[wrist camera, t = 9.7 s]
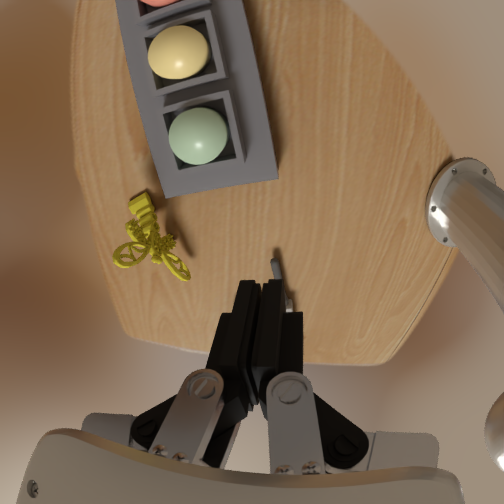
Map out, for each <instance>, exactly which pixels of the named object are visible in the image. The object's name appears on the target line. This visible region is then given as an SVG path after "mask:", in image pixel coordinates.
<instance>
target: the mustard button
mask: <svg viewBox="0 0 504 504" xmlns="http://www.w3.org/2000/svg"><path fill="white" fill-rule="evenodd" d="M211 54H212V49H211V44H210V42H209V40H208V39H207V38H206V37H205V36H204V35H203V34H201V33H200V32H198V31H197V30H195V29H193V28H191V27H188V26H182V25H180V26H173V27H169V28H167V29H165V30H163V31H162V32H160V33H159V34H158V35H157V36H156V37H155V38H154V40H153V41H152V43H151V45H150V47H149V51H148V61H149V65H150V67H151V68H152V70H153V71H154V72H155V73H156V74H157V75H159V76H161V77H163V78H168V79H188V78H191V77H194V76H196V75H198V74H199V73H201V72H202V71H203V70H204V69H205V68H206V67H207V65H208V63H209V61H210V59H211Z"/></svg>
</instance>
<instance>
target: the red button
mask: <svg viewBox="0 0 504 504" xmlns="http://www.w3.org/2000/svg"><path fill="white" fill-rule="evenodd" d="M141 1H143V2H145V3H147V4H149V5H151V6H153V7H155V8H159V9H161V8H163V7H166V6H169V5H172V4H175V3H178V2H180V1H184V0H141Z"/></svg>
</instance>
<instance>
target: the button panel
mask: <svg viewBox="0 0 504 504" xmlns="http://www.w3.org/2000/svg"><path fill="white" fill-rule="evenodd" d="M115 1H116V7H117V13H118V19H119V24H120V30H121V35H122V40H123V45H124V50H125V54H126V59H127V63H128V68H129V72H130V76H131V81H132V85H133V89H134V93H135V97H136V101H137V104H138V108H139V112H140V116H141V119H142V123H143V127H144V130H145V134H146V137H147V141H148V144H149V147H150V151H151V154H152V157H153V161H154V164H155V167H156V170H157V173H158V177H159V180H160V183H161V186H162V189H163V192H164V195H165V198H171V197H176V196H181V195H186V194H191V193H196V192H201V191H207V190H212V189H218V188H224V187H229V186H235V185H242V184H248V183H254V182H261V181H268V180H275V179H278V166H277V160H276V154H275V148H274V143H273V137H272V132H271V126H270V121H269V116H268V111H267V105H266V100H265V95H264V90H263V86H262V81H261V76H260V71H259V67H258V62H257V57H256V53H255V48H254V44H253V40H252V35H251V31H250V27H249V23H248V18H247V14H246V10H245V6H244V2H243V0H184V1H180V2H178V3H175V4H172V5H169V6H166V7H163V8H161V9H159V8H155V7H153V6H151V5H149V4H147V3H145V2H143V1H141V0H115ZM180 25H182V26H188V27H191V28H193V29H195V30H197V31H198V32H200V33H201V34H203V35H204V36H205V37H206V38H207V39H208V40H209V42H210V44H211V49H212V54H211V59H210V61H209V63H208V65H207V67H206V68H205V69H204V70H203V71H202V72H201V73H199V74H198V75H196V76H194V77H191V78H188V79H168V78H163V77H161V76H159V75H157V74H156V73H155V72H154V71H153V70H152V68H151V67H150V65H149V61H148V51H149V47H150V45H151V43H152V41H153V40H154V38H155V37H156V36H157V35H158V34H159V33H160V32H162V31H163V30H165V29H167V28H169V27H173V26H180ZM197 107H211V108H214V109H216V110H218V111H219V112H221V113H222V114H223V115H224V116H225V118H226V119H227V121H228V124H229V127H230V137H229V140H228V143H227V145H226V146H225V148H224V149H223V150H222V151H221V153H220V154H219V155H218V156H217V157H216V158H215V159H213V160H212V161H210V162H208V163H205V164H199V165H195V164H190V163H187V162H184V161H182V160H181V159H180V158H178V157H177V156H176V155H175V153H174V152H173V151H172V149H171V146H170V143H169V130H170V127H171V124H172V122H173V121H174V120H175V118H176V117H177V116H178V115H180V114H181V113H183V112H185V111H187V110H190V109H193V108H197Z"/></svg>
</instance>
